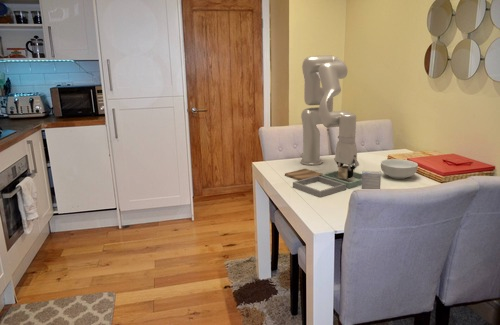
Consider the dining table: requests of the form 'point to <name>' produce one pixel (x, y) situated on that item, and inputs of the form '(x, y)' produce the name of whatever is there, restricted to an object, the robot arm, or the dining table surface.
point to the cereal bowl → (399, 168)
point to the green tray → (348, 184)
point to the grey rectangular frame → (336, 188)
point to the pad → (302, 174)
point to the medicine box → (371, 179)
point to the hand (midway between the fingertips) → (345, 176)
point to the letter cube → (343, 172)
